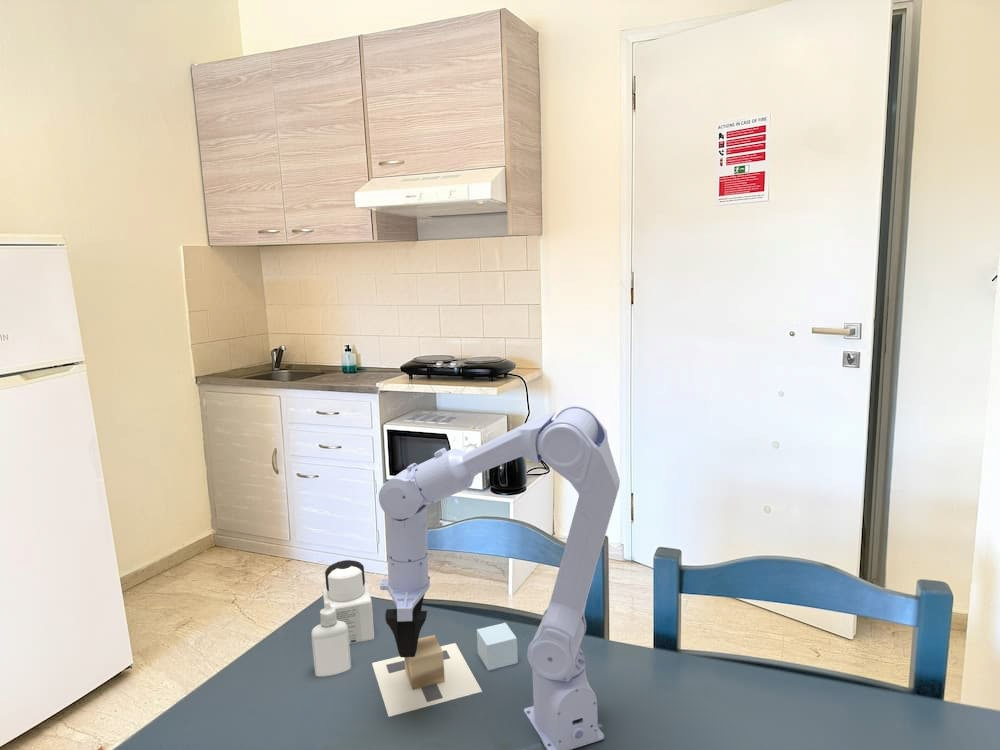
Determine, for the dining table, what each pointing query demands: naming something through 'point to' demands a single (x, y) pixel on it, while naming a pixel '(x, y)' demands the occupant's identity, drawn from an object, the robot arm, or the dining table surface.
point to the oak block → (425, 664)
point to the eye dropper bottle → (330, 644)
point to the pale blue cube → (497, 646)
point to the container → (350, 598)
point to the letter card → (406, 699)
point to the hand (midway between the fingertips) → (409, 640)
